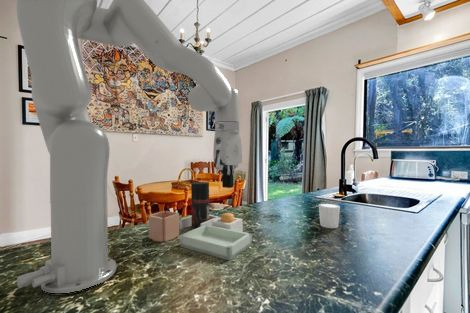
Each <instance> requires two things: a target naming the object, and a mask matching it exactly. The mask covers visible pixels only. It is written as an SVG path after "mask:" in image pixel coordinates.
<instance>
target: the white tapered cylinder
mask: <svg viewBox="0 0 470 313" xmlns="http://www.w3.org/2000/svg"><path fill="white" fill-rule="evenodd" d="M318 212H319V215H318V216H319V222H320V226H321V227H323V228H326V229H337V228H339V220H340V212H341V206H340V205H338V204H335V203H319V204H318Z"/></svg>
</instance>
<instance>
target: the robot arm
mask: <svg viewBox="0 0 470 313" xmlns="http://www.w3.org/2000/svg"><path fill="white" fill-rule="evenodd" d="M16 16H17V23H18V28H19V33H20V36H21V41H22V44H23V49H24V53H25V57H26V60H27V64H28V67H29V72H30V74H31V98H32V103H33V107H34V110H35V113H36V116H37V120H38V123H39V126H40V130H41V133H42V136H43V139H44V143H45V147H46V148H47V152H48V153H49V204H50V243H51V245H50V250H51V251H50V252H51V253H50V256H51V258H50V259H47V260H45V262H44V266H41V267H39V270H36V271H33V272H27V273H25V274H22V275H19V276H17V278H16V284H17V288H18V289H21V288H23V287H26V286H29V285H31V286H32V288H36V287H39V286H40V289H41V290H43V291H42V292H44V291H45V292H44V293H46V292H49V293H68V292H74V291H78V290H82V289H86V288H89V287H91V286H94V285H96V286H98V285H101V284H102V283H104V282H106V281H107V280H109V279H110V278H111V277H112V276H114V274H115V272H116V271H117V262H116V261H115V260H114V259H113V258H110V257H109V229H108V228H109V227H108V226H109V224H108V222H109V221H108V220H109V219H108V218H109V217H108V216H109V215H108V210H109V209H108V173H109V172H108V170H109V161H110V142H109V138H108V137H107V134H106V132H105V131H104V130H103V129H102V128H101V127H100V126H99V125H97V124H95V123H94V122H92V121H91V120H90V115H89V111H88V108H87V107H88V106H89V105H90V103H91V101H92V94H93V93H92V89H91V85H90V81H89V78H88V74H87V72H86V69H85V68H86V67H85V65H84V61H83V57H82V53H81V50H80V45H79V40H84V41H89V42H94V43H100V44H103V45H110V46H115V47H130V46H133V45H135V46H136V47H137V48H139V50H141V52H142V53H143V54H144V55H145V56H146V57H147V58H148V59H149V60H150V62H152V63H153V65H154V66H156V67H157V68H158V69H159V70H163V71H167V72H172V73H178V74H181V75H184V76H186V77H188V78H190V79H191V80H193V81H194V82H196V83H197V84H198V85H197V86H194V87H193V88H191V89H190V91H189V92H188V95H187V102H188V104H189V106H190V107H191V108H192V109H194V110H195V111H197V112H198V111H199V112H214V138H213V139H214V140H213V155H212V156H213V163H214V164H215V165H216V166H215V169H216V170H217V171H218V170H219V171H220V175H221V182H222V184H221V185H222V188H227V189H230V188H234V175H235V170H236V169H237V168H238V166H239V165H241V164H242V163H243V149H242V147H243V146H242V140H241V135H240V118H239V117H240V104H239V103H240V99H239V98H240V97H239V91H238V90H237V89H236V88H234V87H231V85H230V84H229V81H228V79H227V78H226V77H225V75H223V73H222V72H221V71H220V69H218V67H217V66H216V65H215V63H213V62H212V61H211V60H210V59H209V58H207V57H205V56H203V55H201V54H200V53H198V52H197V51H195V50H193V49H191V48H188V47H186V46H185V45H183V44H182V43H181V41H179V40H178V39H177V37H176V36H175V35H174V34H173V33H172V31H171V30H170V29H169V28H168V27H167V25H165V24H164V22H163V20H161V19H160V17H159V16H158V15H157V13H155V11H154V10H153V9H152V8H151V6H150V5H149V4H148V3H147V2H146V1H145V0H112V1H111V3H110V5H109V7H108V8H103V7H99V6H98V0H16ZM100 283H101V284H100ZM97 284H98V285H97ZM94 287H95V286H94ZM91 288H92V287H91ZM89 289H90V288H89ZM86 290H87V289H86ZM82 291H83V290H82ZM49 293H48V294H49ZM74 293H75V292H74Z"/></svg>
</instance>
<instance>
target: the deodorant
mask: <svg viewBox="0 0 470 313" xmlns="http://www.w3.org/2000/svg"><path fill="white" fill-rule="evenodd" d="M190 185H191V186H190V188H191V193H190V194H191V200H190V201H191V203H190V204H191V216H192V225H191V229H192V230H194V229H196V228H199V227H200V224H201V223H203V222H206V221H208V220H209V215H210V182H209V181H194V182H191V184H190Z"/></svg>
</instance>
